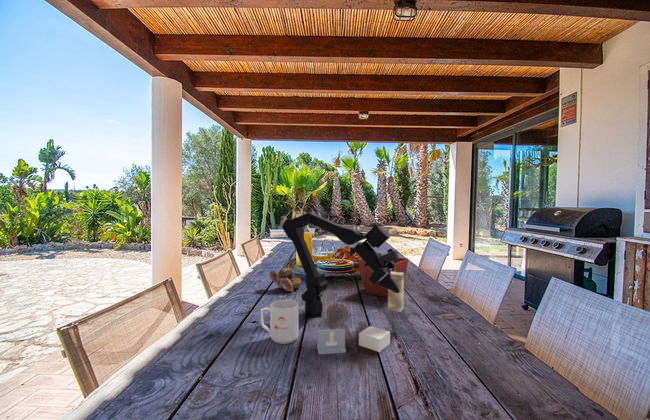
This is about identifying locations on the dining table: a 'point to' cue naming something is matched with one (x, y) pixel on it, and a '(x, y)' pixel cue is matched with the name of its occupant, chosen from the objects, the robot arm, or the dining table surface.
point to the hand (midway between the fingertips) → (400, 290)
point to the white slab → (374, 338)
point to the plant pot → (378, 289)
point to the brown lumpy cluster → (285, 279)
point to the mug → (282, 321)
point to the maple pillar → (396, 298)
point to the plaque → (331, 341)
